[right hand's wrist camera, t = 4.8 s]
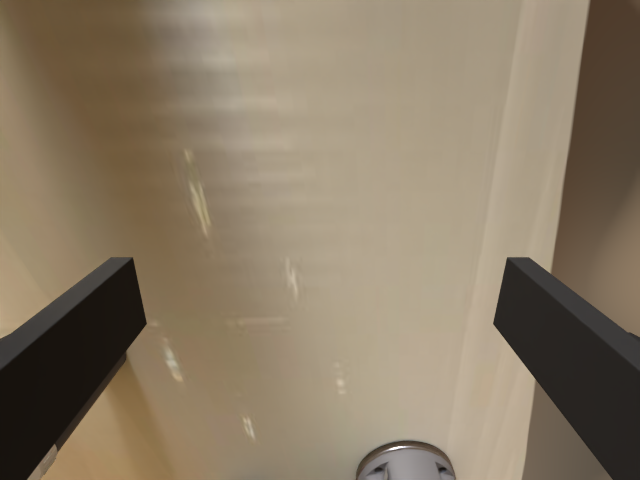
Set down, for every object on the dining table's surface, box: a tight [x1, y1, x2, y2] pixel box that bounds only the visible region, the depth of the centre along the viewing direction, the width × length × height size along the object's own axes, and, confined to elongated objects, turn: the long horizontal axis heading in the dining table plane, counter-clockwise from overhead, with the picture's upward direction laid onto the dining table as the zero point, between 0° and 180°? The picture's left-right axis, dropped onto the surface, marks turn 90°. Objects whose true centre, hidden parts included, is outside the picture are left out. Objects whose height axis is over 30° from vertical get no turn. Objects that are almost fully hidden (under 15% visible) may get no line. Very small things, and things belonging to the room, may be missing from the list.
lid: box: [27, 444, 58, 480], centre depth 34 cm, size 5×5×2 cm
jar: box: [55, 353, 126, 453], centre depth 41 cm, size 5×5×16 cm
